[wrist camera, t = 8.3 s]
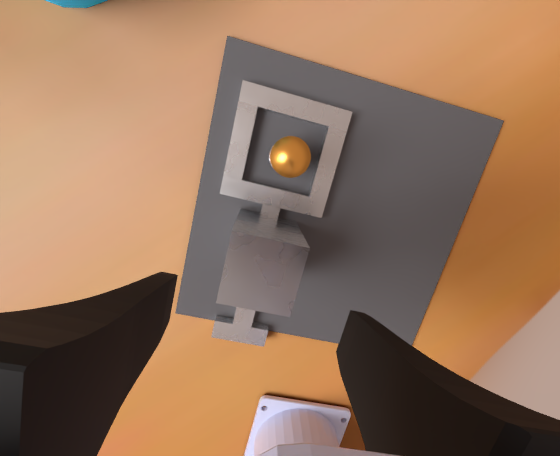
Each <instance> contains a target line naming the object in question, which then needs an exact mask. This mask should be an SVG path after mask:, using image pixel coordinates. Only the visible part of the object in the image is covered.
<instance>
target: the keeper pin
mask: <svg viewBox="0 0 560 456" xmlns="http://www.w3.org/2000/svg"><path fill="white" fill-rule="evenodd" d="M268 160H269V163H270V165H271V166H272V168H273V169H274V170H275V171H276V172H277V173H278V174H280V175H281V176H283V177H287V178H294V177H297V176H300V175H301V174H303V173H304V172H305V171H306V170H307V168H308V167H309V164H310V161H311V153H310V149H309V147H308V145H307V144H306V143H305V142H304V141H303V140H302V139H300V138H298V137H295V136H286V137H283V138H281V139H280V140H278V141H277V142H276V143H275V144H274V145H273V146H272V147H271V148H270V150H269V153H268Z"/></svg>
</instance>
